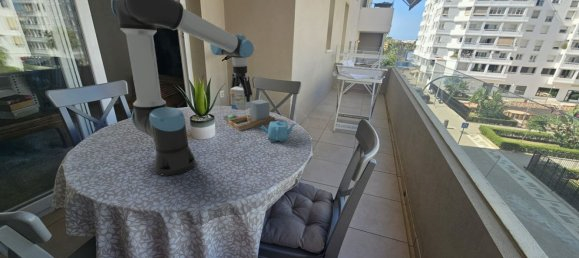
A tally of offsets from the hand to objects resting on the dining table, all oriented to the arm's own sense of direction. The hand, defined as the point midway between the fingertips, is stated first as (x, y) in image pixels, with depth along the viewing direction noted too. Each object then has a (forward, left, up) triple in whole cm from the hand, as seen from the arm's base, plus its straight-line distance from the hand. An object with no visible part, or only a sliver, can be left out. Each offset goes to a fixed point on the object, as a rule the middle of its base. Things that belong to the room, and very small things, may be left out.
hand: (242, 104), depth 137 cm
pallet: (0, -6, -13) cm, 14 cm away
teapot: (-27, -5, -13) cm, 30 cm away
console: (+11, +1, -13) cm, 17 cm away
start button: (+11, +1, -12) cm, 17 cm away
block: (0, -12, -12) cm, 17 cm away
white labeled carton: (0, 0, -2) cm, 2 cm away
